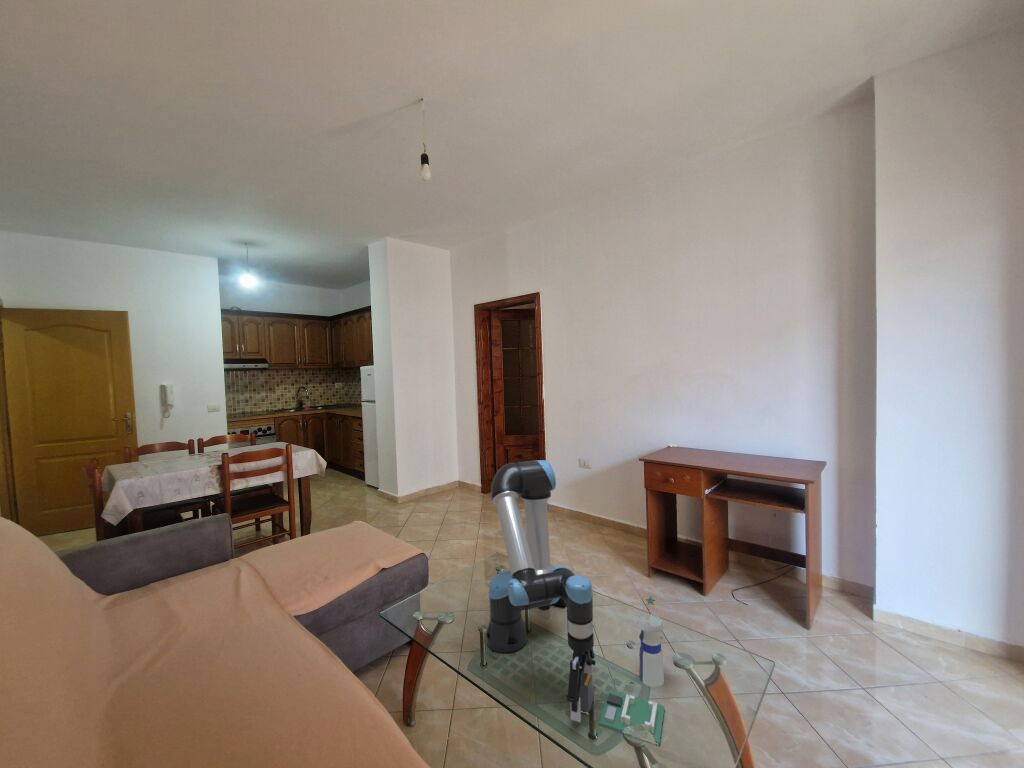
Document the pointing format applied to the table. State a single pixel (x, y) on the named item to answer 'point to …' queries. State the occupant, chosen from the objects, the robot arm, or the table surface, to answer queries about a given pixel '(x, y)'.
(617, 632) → the table surface
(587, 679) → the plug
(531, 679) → the table surface
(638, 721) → the board
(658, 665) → the water bottle
